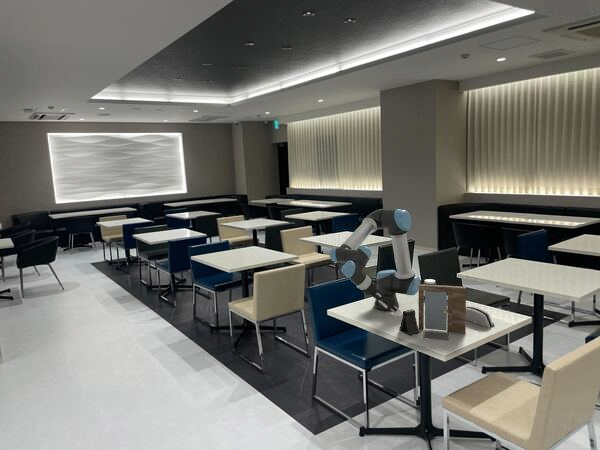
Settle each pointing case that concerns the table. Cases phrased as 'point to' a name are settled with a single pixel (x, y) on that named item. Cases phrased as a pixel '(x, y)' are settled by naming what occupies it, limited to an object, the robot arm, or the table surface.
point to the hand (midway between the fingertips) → (393, 310)
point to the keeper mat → (436, 335)
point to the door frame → (454, 307)
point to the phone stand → (409, 323)
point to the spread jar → (429, 283)
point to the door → (436, 310)
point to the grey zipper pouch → (478, 316)
